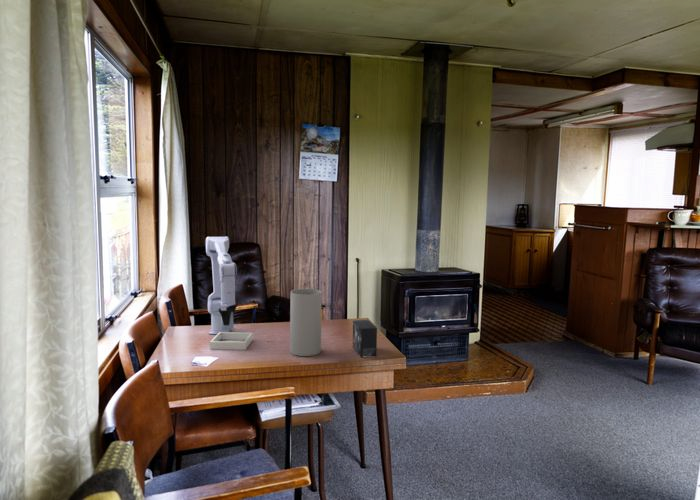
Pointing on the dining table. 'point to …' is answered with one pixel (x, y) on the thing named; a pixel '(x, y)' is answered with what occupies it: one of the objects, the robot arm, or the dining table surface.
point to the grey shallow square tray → (218, 344)
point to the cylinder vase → (305, 322)
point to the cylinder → (231, 325)
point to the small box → (365, 338)
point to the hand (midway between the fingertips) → (228, 323)
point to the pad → (233, 341)
